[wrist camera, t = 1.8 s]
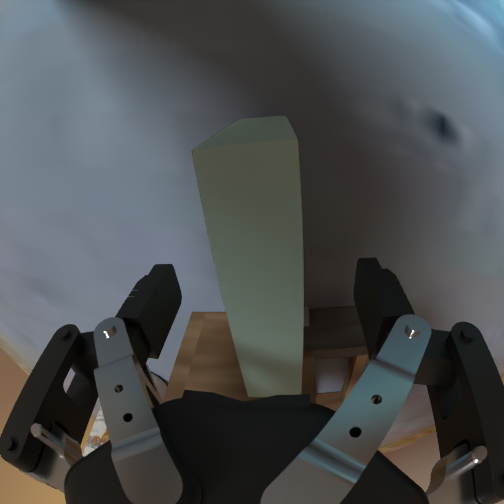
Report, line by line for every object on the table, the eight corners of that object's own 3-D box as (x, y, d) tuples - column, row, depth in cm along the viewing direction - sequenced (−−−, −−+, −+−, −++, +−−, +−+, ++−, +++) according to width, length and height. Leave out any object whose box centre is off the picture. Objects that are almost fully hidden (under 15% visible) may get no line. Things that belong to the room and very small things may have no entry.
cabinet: (192, 311, 22) (155, 423, 13) (373, 304, 20) (406, 421, 11) (225, 397, 29) (212, 474, 21) (348, 394, 27) (356, 472, 19)
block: (239, 119, 14) (191, 150, 6) (294, 114, 13) (317, 138, 6) (260, 282, 20) (248, 397, 12) (302, 280, 19) (310, 395, 12)
